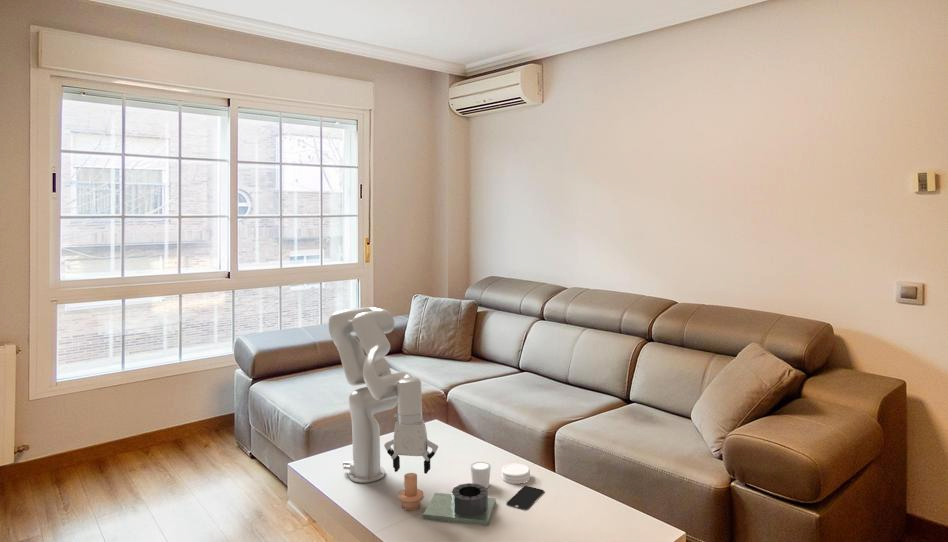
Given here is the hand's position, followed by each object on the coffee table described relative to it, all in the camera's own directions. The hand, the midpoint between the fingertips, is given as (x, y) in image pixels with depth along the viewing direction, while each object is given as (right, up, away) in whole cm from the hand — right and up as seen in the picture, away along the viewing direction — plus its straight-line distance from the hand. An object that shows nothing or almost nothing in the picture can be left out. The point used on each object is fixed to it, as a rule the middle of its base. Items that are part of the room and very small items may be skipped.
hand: (411, 471), depth 182 cm
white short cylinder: (+34, -10, +21) cm, 41 cm away
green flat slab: (+15, -12, -2) cm, 19 cm away
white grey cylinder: (+22, -11, +15) cm, 29 cm away
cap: (0, -12, +2) cm, 12 cm away
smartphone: (+36, -12, +6) cm, 39 cm away
